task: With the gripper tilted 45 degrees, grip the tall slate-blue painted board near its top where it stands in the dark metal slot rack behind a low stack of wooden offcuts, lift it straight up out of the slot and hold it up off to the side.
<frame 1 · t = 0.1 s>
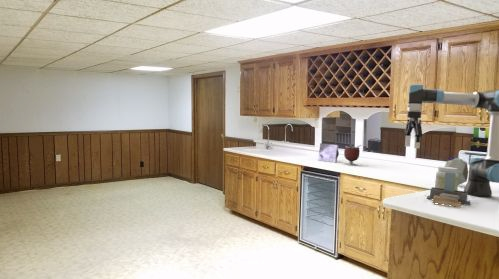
hand: (412, 147, 225), 28 cm above the worktop, tool pointing down, fingers open, 13 cm apart
slate board: (448, 201, 213), resting in slot rack
slot rack: (448, 200, 213), on the worktop
supplement tub: (445, 195, 230), on the worktop
mate gourd: (351, 165, 362), on the worktop
rock: (454, 185, 274), on the worktop
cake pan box: (328, 161, 380), on the worktop
offcut stack: (446, 199, 203), on the worktop
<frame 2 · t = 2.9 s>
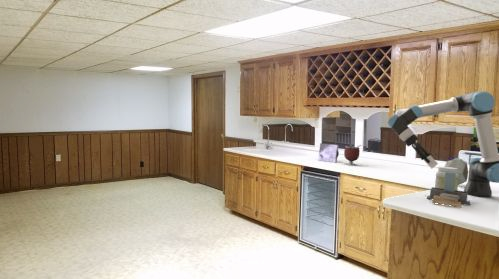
hand: (435, 166, 216), 19 cm above the worktop, tool tilted 45°, fingers open, 13 cm apart
nothing on the worktop moved.
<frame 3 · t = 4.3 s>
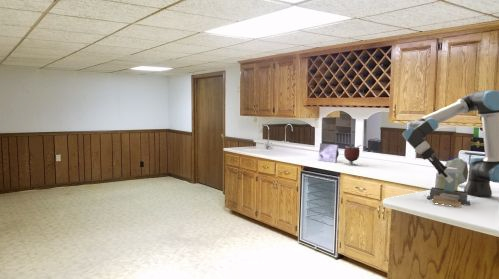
hand: (452, 180, 212), 12 cm above the worktop, tool tilted 45°, fingers open, 13 cm apart
nothing on the worktop moved.
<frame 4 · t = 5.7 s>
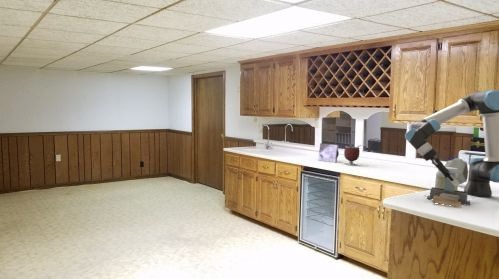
hand: (457, 184, 211), 10 cm above the worktop, tool tilted 45°, fingers closed on slate board, 3 cm apart
slate board: (448, 201, 213), resting in slot rack, touching gripper
everything else where it was.
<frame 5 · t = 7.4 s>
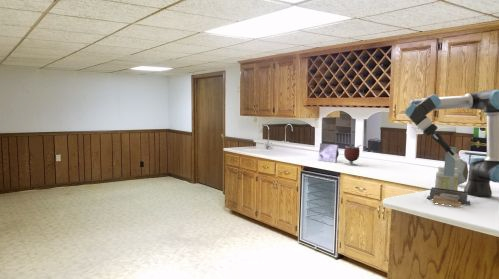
hand: (458, 159, 210), 24 cm above the worktop, tool tilted 45°, fingers closed on slate board, 3 cm apart
slate board: (448, 175, 213), point 14 cm above the worktop, touching gripper
everything else where it was.
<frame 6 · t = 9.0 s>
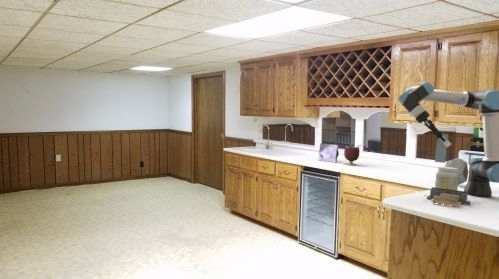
hand: (449, 145, 213), 31 cm above the worktop, tool tilted 45°, fingers closed on slate board, 3 cm apart
slate board: (439, 162, 216), point 21 cm above the worktop, touching gripper
everything else where it was.
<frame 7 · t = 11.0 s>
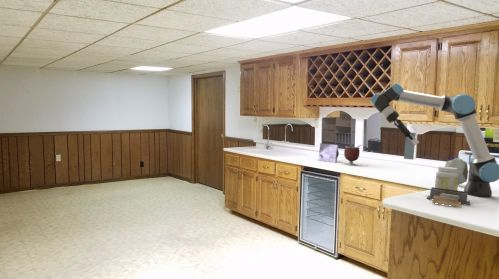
hand: (417, 143, 229), 30 cm above the worktop, tool tilted 45°, fingers closed on slate board, 3 cm apart
slate board: (408, 159, 231), point 20 cm above the worktop, touching gripper
everything else where it was.
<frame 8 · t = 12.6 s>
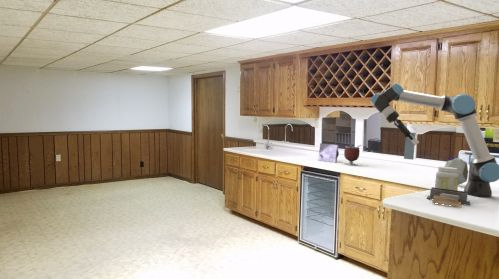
hand: (417, 143, 229), 30 cm above the worktop, tool tilted 45°, fingers closed on slate board, 3 cm apart
slate board: (408, 159, 231), point 20 cm above the worktop, touching gripper
everything else where it was.
at the end: the gripper is holding slate board; slate board inside the target area (0.0 cm from its centre), point 20.5 cm above the worktop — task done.
